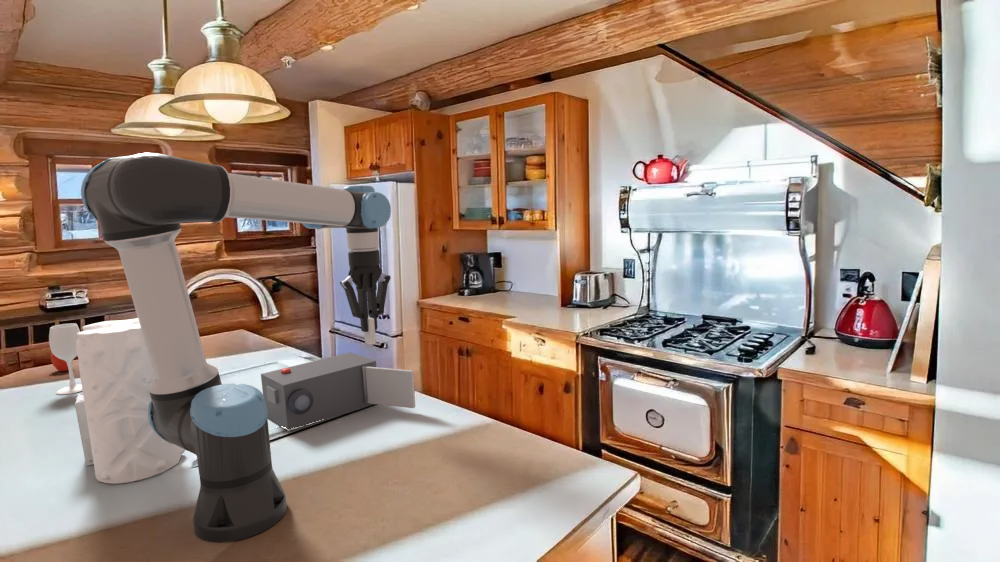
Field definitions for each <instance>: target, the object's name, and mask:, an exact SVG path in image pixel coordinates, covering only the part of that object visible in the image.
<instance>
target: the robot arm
mask: <svg viewBox="0 0 1000 562" xmlns="http://www.w3.org/2000/svg"><path fill="white" fill-rule="evenodd" d="M80 196H81V201H82V204H83V206H84V207H85V209H86V211H87V212H88V213H89V215H91V216H92V218H94V219H95V220H96V221H97V222H98V224H99V227H100V228H99V229H100V231H101V234H102V237H103V241H104V243H105V244H107V245H109V246H111V247H113V248H114V249H116V251H118V254H119V257H120V261H121V265H122V268H123V271H124V275H125V277H126V278H125V279H126V282H127V286H128V289H129V293H130V296H131V300H132V303H133V307H134V309H135V312H136V316H137V318H138V320H139V323H140V327H141V330H142V333H143V337H144V340H145V344H146V347H147V350H148V354H149V357H150V361H151V364H152V368H153V371H154V374H155V379H154V380H153V382H152V383H151V384H150V386H149V393H150V396H151V402H150V403H149V407H148V419H149V423H150V425H151V427H152V428H153V430H154V431H155V432H156V433H157V434H158V435H159V436H160V437H161V438H162V439H164V440H165V441H167V442H169V443H172V444H175V445H177V446H179V447H181V448H183V449H185V451H187V452H190V453H192V454H194V455H196V459H197V467H198V468H197V469H198V475H199V482H200V483H199V485H200V488H199V492H198V495H197V499H196V504H195V509H194V513H193V518H192V520H193V521H192V522H193V529H194V531H193V532H194V533H195V536H197V538H199V539H200V540H202V541H206V542H211V543H228V542H229V543H230V542H234V541H240V540H244V539H247V538H250V537H253V536H255V535H258V534H260V533H262V532H264V531H266V530H268V529H270V528H271V527H273V526H275V525H276V524H277V523H278V522H279V521H280V520H282V518H283V517H284V515H285V514H286V513H287V509H288V508H287V506H288V505H287V496H286V492H285V491H284V488H283V487H282V484H281V482H280V481H279V479H278V477H277V475H276V472H275V471H274V469H273V464H272V463H273V462H272V460H273V459H272V451H271V440H270V432H269V431H270V430H269V420H268V419H267V417H268V411H267V406H266V404H265V399H264V396H263V391H261V390H260V389H259V388H257V387H255V386H253V385H249V384H245V383H239V384H235V383H224V384H223V383H222V381H221V380H222V379H221V377H220V372H219V369H218V368H217V367H216V366H214V365H212V364H210V363H208V361H207V359H206V355H205V351H204V347H203V344H202V340H201V336H200V333H199V329H198V328H199V327H198V325H197V322H196V321H197V320H196V317H195V313H194V310H193V306H192V302H191V301H192V300H191V298H190V294H189V291H188V286H187V283H186V279H185V275H184V272H183V269H182V268H183V267H182V265H181V260H180V258H179V257H180V256H179V253H178V249H177V245H176V241H175V240H176V238H177V237H178V236H179V234H180V233H181V231H182V227H181V224H182V223H197V222H198V223H199V222H201V223H202V222H204V223H205V222H206V223H219V222H222V221H223V220H224V219H225V218H228V219H229V218H232V219H245V220H246V219H247V220H260V221H271V222H284V223H285V222H287V223H296V224H297V223H298V224H302V226H303V227H305V228H306V229H309V230H310V229H311V230H314V229H317V230H321V229H338V228H339V229H345V231H346V242H347V249H348V250H350V251H348V253H347V256H348V266H349V271H348V274H347V275H348V276H347V277H346V278H345V279H344V280H340V281H339V284H340V286H341V287H342V288H343V289H344V292H345V296H346V298H347V303H348V305H349V309H350V312H351V315H352V317H354V318H358V319H359V320H360V330H361V332H362V333H364V334H363V335H364V344H367V345H369V346H372V345H376V344H377V342H376V340H377V339H376V330H378V318H379V317H380V315H382V314H384V312H385V304H386V299H387V290H388V284H389V283H390V280H391V275H388V274H385V273H384V272H383V271H382V269H381V253H380V250H379V249H378V248H379V247H380V238H379V228H381V227H384V226H386V224H387V223H388V222H389V220H390V218H391V212H392V207H391V203H390V201H389V199H388V197H387V196H386V195H384V194H383V193H381V192H378V191H377V192H376V190H375V188H374V186H371V185H347V186H344V188H343V189H341V188H334V187H329V186H320V185H313V184H306V183H300V182H293V181H287V180H281V179H274V178H267V177H266V178H265V177H259V176H252V175H246V174H245V175H244V174H239V173H238V174H237V173H230V172H228V170H227V169H226V168H225V167H224V166H222V165H218V164H212V163H206V162H201V161H196V160H193V159H187V158H182V157H178V156H172V155H169V154H165V153H164V154H162V153H158V152H143V153H136V154H132V155H126V156H117V157H111V158H108V159H106V160H103V161H101V162H100V163H98V164H96V165H94V167H93V166H92V167H91V169H90V170H89V171H88V172H87V173H86V175H85V176H84V177H83V179H82V182H81V189H80ZM354 285H355V289H354V287H353V286H354ZM355 290H356V292H357V296H356V292H355Z"/></svg>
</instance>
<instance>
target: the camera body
mask: <svg viewBox="0 0 1000 562" xmlns="http://www.w3.org/2000/svg"><path fill="white" fill-rule="evenodd" d="M363 366H366V367H377V360H374V359H371V358H368V357H365V356H362V355H359V354H356V353H353V352H351V351H350V352H346V353H343V354H338V355H333V356H330V357H325V358H321V359H318V360H317V359H316V360H313V361H308V362H306V363H305V362H304V363H300V364H295V365H292V366H288V367H284V368H280V369H276V370H271V371H267V372H262V373H260V377H261V378H260V379H261V381H260V382H261V386H262V388H261V389H262V394H263V396H264V399H265V404H266V406H267V411H268V417H267V419H268V421H270V422H272V423H273V424H274V425H276V426H278V427H280V428H281V426H283V427H286V428H287V429H291V428H293V427H294V428H295V427H299V426H303V425H306V424H309V423H312V422H316V421H319V420H322V419H327V418H330V419H332V418H335V417H339V416H341V415H345V414H348V413H351V412H354V411H358V410H361V409H363V408H366V407H369V406H372V405H374V404H371V403H365V397H364V384H363V371H362V367H363ZM327 420H328V419H327Z"/></svg>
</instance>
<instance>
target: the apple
mask: <svg viewBox="0 0 1000 562" xmlns="http://www.w3.org/2000/svg"><path fill="white" fill-rule="evenodd" d="M73 360H74V359H73ZM73 360H72V362H73ZM50 361H51V363H52V366H53V367H54V368H55V369H56V371H59V372H65V371H69V369H68V365H67V362H66V361H65V360H62V359H59V358H57V357H56V356H54V355H53V353H52V352H51V354H50Z"/></svg>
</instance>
